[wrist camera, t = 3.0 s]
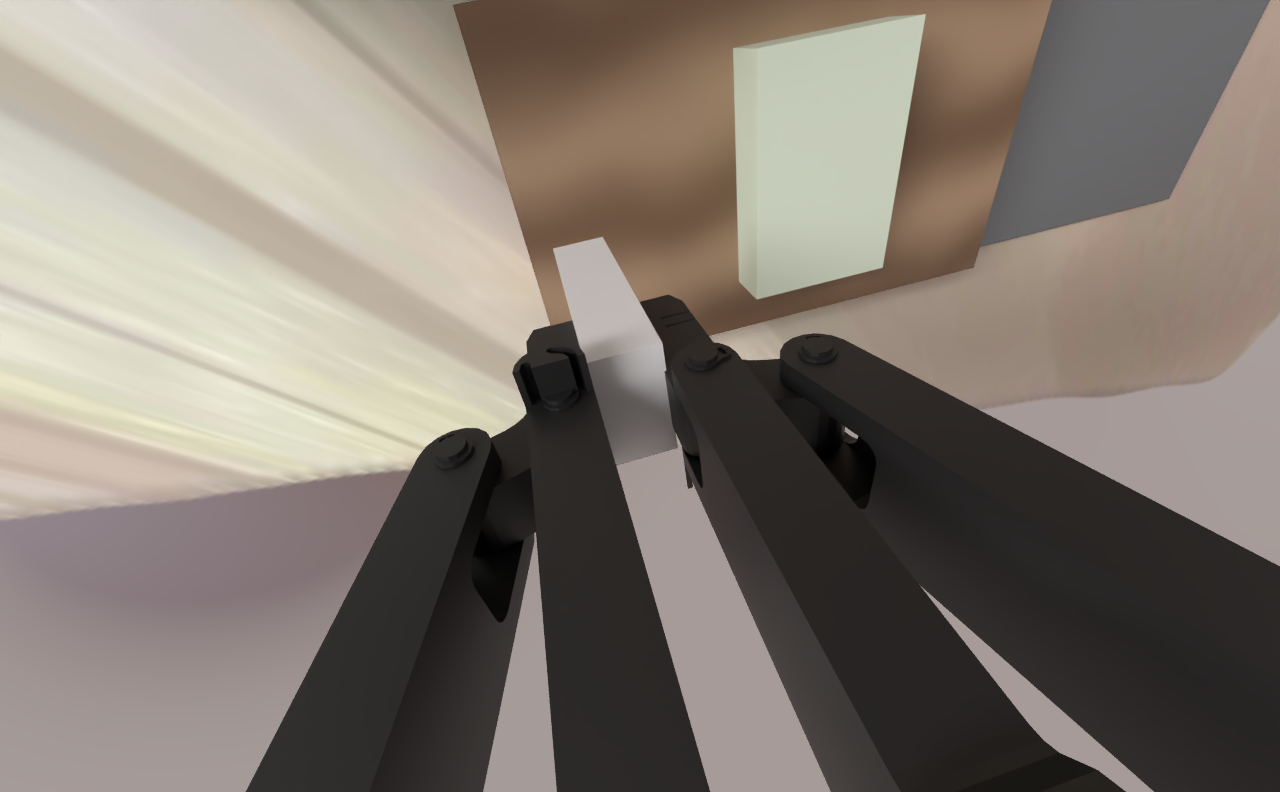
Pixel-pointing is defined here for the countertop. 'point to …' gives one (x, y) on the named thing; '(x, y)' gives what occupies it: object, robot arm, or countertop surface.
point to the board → (727, 136)
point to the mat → (1115, 107)
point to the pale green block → (820, 150)
